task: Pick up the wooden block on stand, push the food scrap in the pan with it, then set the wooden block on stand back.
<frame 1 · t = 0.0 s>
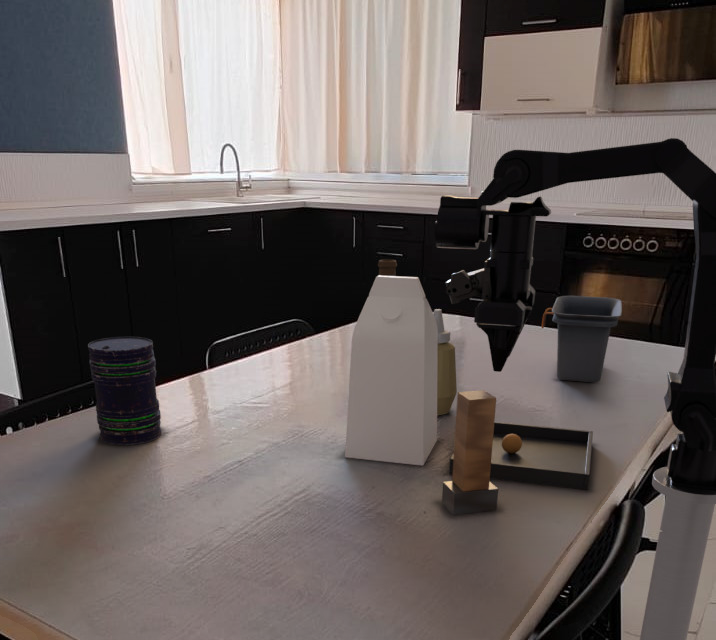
hand: (501, 363, 111), 14 cm above the table, tool pointing down, fingers open, 9 cm apart
squeeze bottle: (432, 412, 138), on the table
wooden block on stand: (468, 506, 100), on the table
milk: (392, 449, 120), on the table
beer bottle: (384, 384, 154), on the table
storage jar: (131, 436, 125), on the table
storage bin: (574, 373, 164), on the table
pan: (523, 458, 116), on the table
food scrap: (511, 443, 116), point 2 cm above the table, touching pan
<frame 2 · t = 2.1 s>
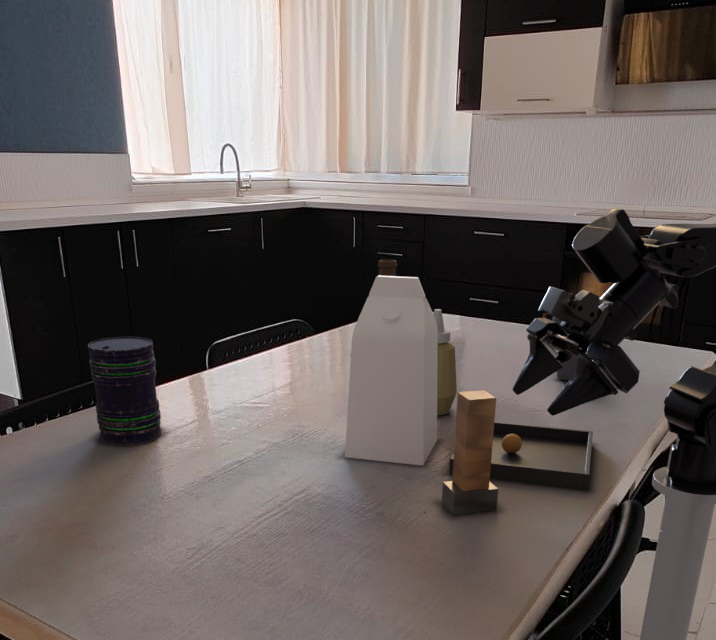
hand: (531, 402, 97), 13 cm above the table, tool tilted 45°, fingers open, 9 cm apart
nothing on the table moved.
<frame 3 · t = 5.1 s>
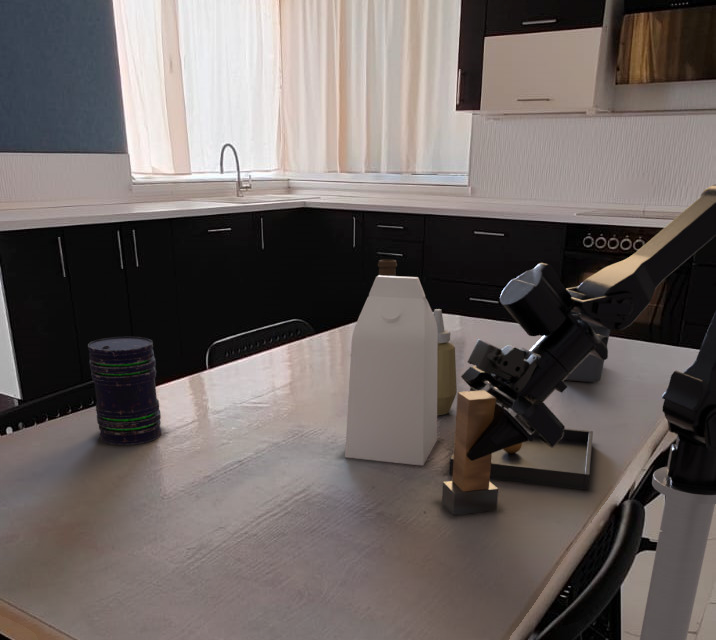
hand: (462, 452, 97), 8 cm above the table, tool tilted 45°, fingers closed on wooden block on stand, 3 cm apart
wooden block on stand: (468, 506, 100), on the table, touching gripper
everything else where it was.
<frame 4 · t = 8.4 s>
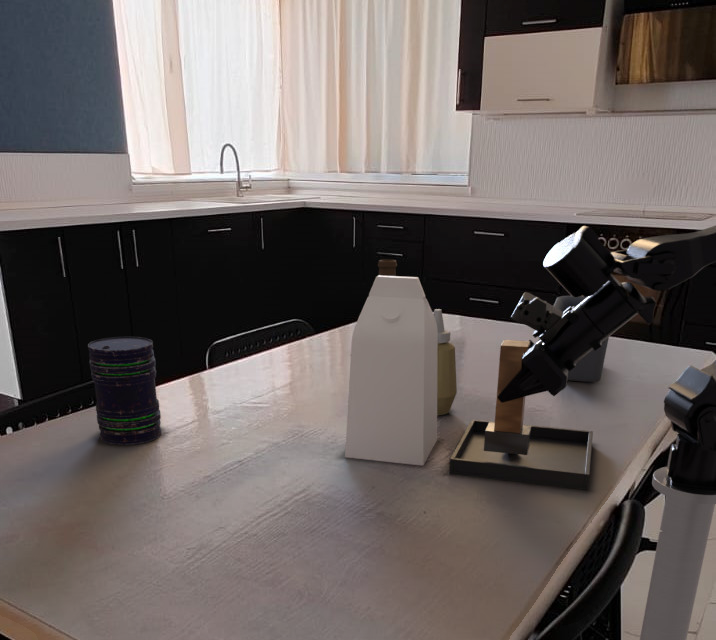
hand: (501, 395, 106), 11 cm above the table, tool tilted 45°, fingers closed on wooden block on stand, 3 cm apart
wooden block on stand: (506, 448, 109), point 4 cm above the table, touching gripper
everything else where it was.
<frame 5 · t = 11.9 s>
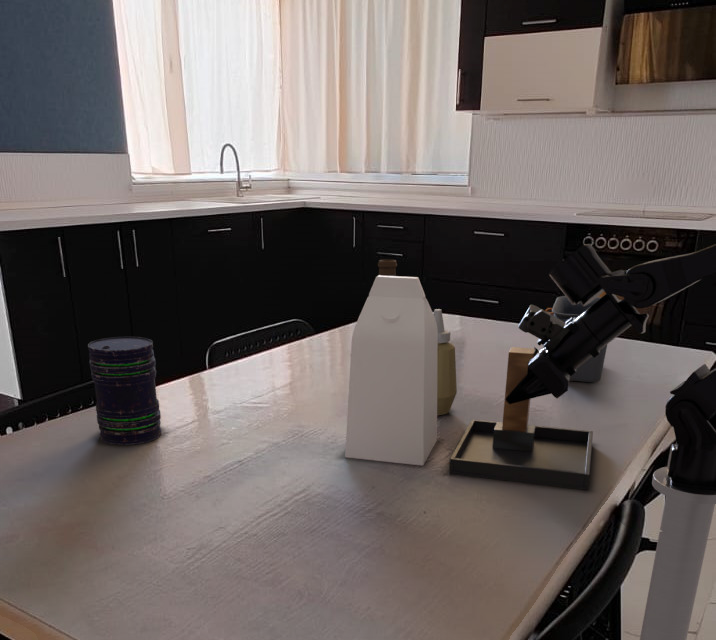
hand: (508, 398, 117), 8 cm above the table, tool tilted 45°, fingers closed on wooden block on stand, 3 cm apart
wooden block on stand: (513, 445, 120), point 1 cm above the table, touching gripper
food scrap: (515, 429, 123), point 2 cm above the table, tilted 93°, touching pan
everything else where it was.
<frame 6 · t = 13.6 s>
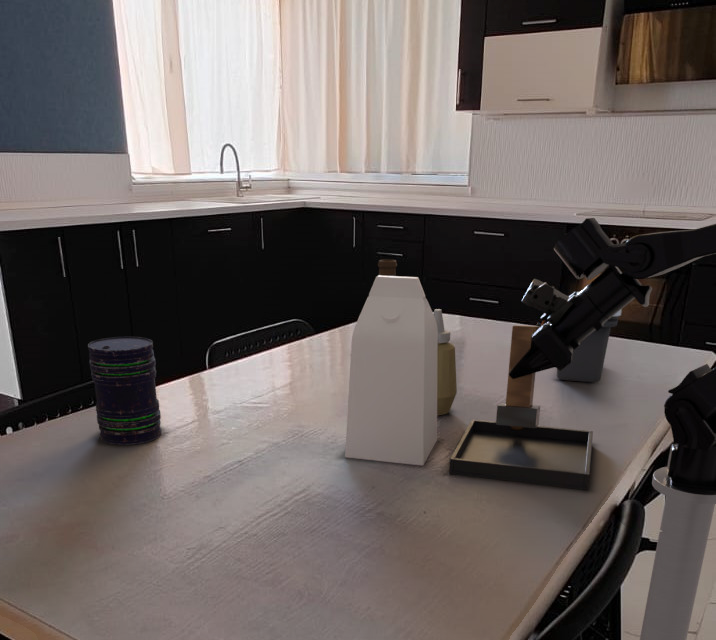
hand: (512, 373, 118), 11 cm above the table, tool tilted 45°, fingers closed on wooden block on stand, 4 cm apart
wooden block on stand: (517, 424, 119), point 4 cm above the table, tilted 9°, touching food scrap, gripper
food scrap: (517, 420, 122), point 3 cm above the table, tilted 36°, touching wooden block on stand, pan
everything else where it was.
when the fingers open (8 cm above the table, at t = 19.3 s): wooden block on stand stays where it is, on the table.
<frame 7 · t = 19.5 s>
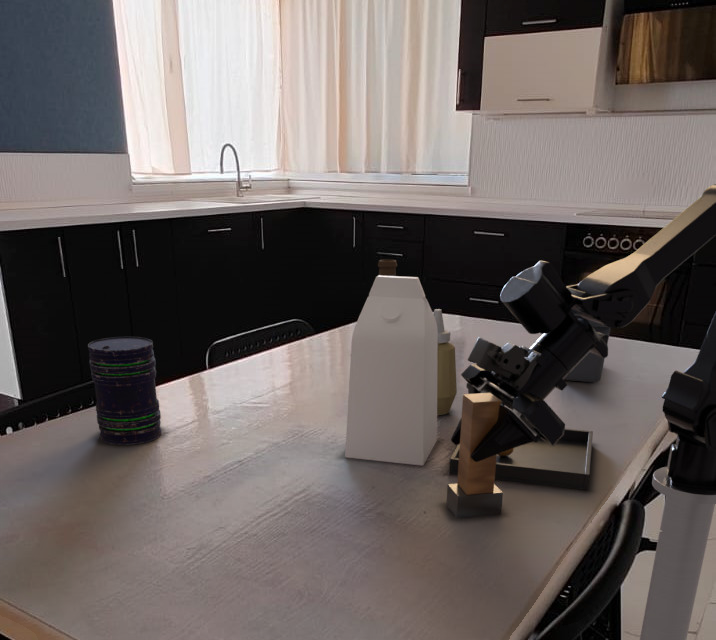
hand: (462, 450, 97), 8 cm above the table, tool tilted 45°, fingers open, 6 cm apart
wooden block on stand: (473, 509, 99), on the table, touching gripper
food scrap: (503, 446, 115), point 2 cm above the table, tilted 52°, touching pan
everything else where it was.
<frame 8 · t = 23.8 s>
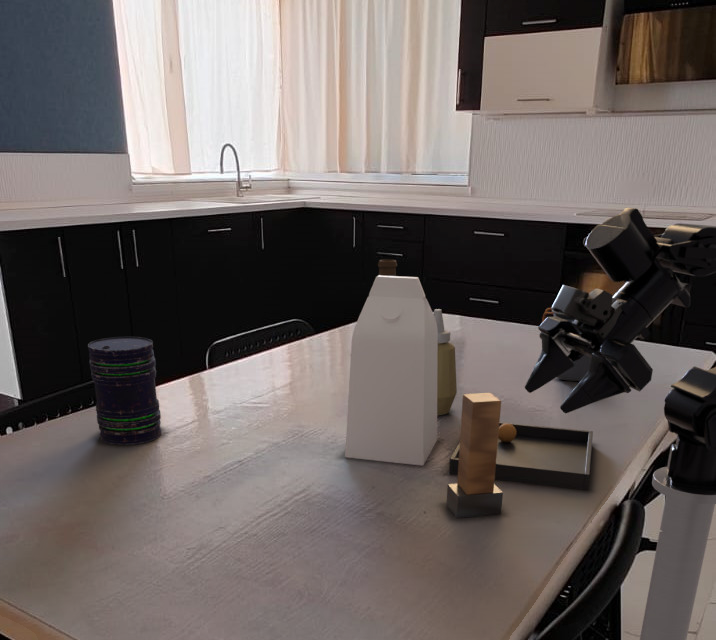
hand: (544, 400, 97), 14 cm above the table, tool tilted 45°, fingers open, 9 cm apart
wooden block on stand: (473, 509, 99), on the table
food scrap: (506, 432, 121), point 2 cm above the table, tilted 158°, touching pan
everything else where it was.
at the end: food scrap inside the target area in the pan (3.7 cm from its centre), point 2.0 cm above the pan's base; wooden block on stand tilted 0°; the gripper is holding nothing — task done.
